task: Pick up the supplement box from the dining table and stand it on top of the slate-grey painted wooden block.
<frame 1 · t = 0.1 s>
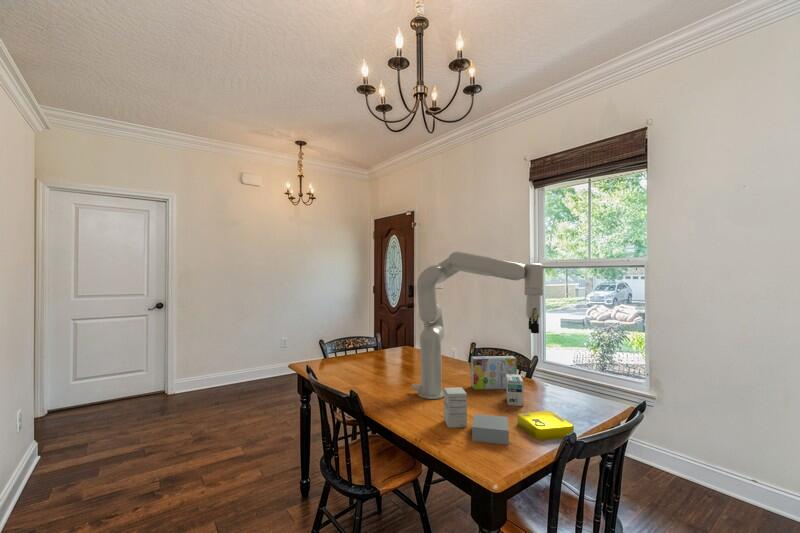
hand: (533, 331, 167), 31 cm above the table, tool pointing down, fingers open, 9 cm apart
light bulb box: (514, 402, 169), on the table
grey block: (490, 436, 135), on the table
element tile: (544, 431, 140), on the table
snack box: (493, 388, 188), on the table
supplement box: (455, 424, 145), on the table
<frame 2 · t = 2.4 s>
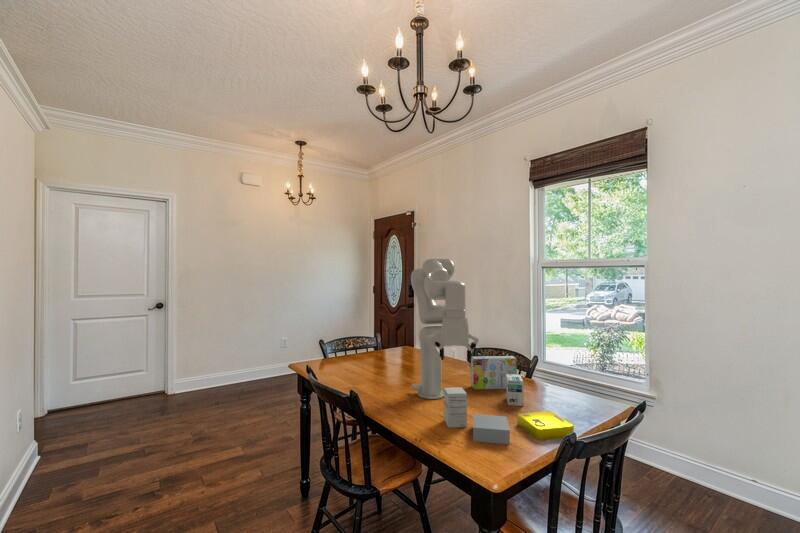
hand: (455, 360, 145), 24 cm above the table, tool pointing down, fingers open, 9 cm apart
nothing on the table moved.
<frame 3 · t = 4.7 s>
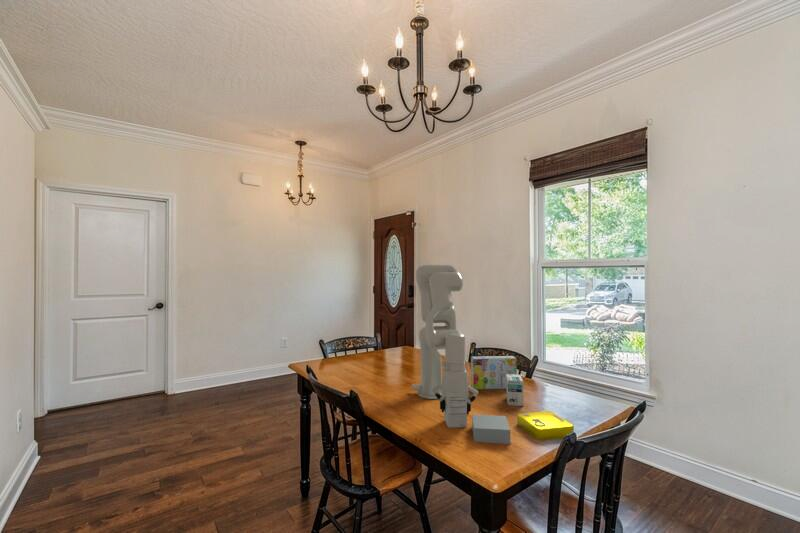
hand: (455, 412, 145), 4 cm above the table, tool pointing down, fingers closed on supplement box, 9 cm apart
supplement box: (455, 424, 145), on the table, touching gripper
everything else where it was.
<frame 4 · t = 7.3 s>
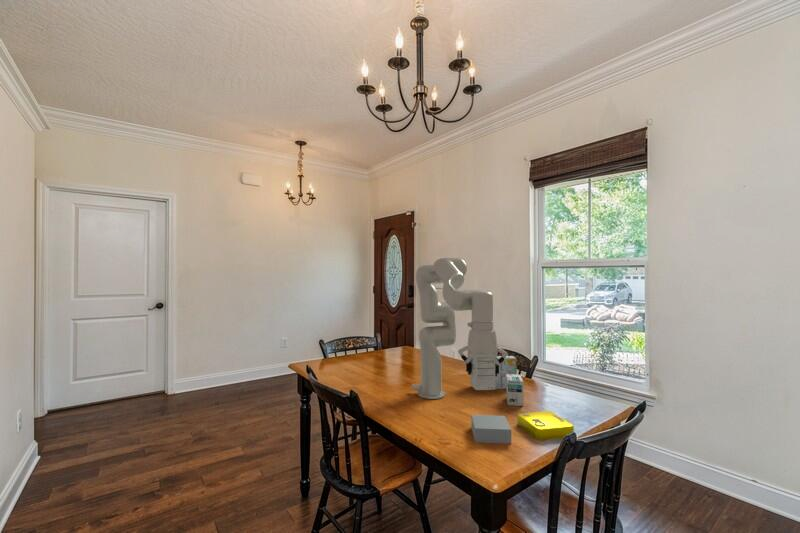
hand: (482, 374, 137), 21 cm above the table, tool pointing down, fingers closed on supplement box, 8 cm apart
supplement box: (482, 387, 137), point 16 cm above the table, touching gripper
everything else where it was.
when the fingers open (10 cm above the table, at t = 10.0 s): supplement box drops 1 cm, point 4 cm above the table.
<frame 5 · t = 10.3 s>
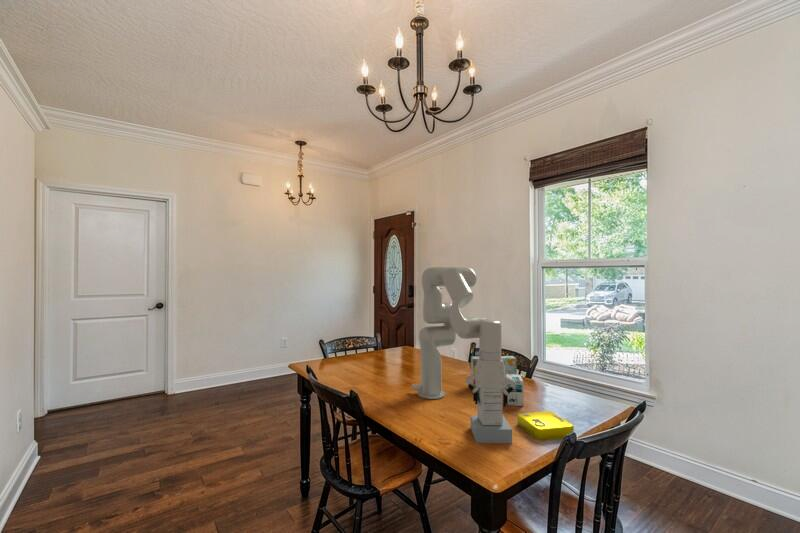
hand: (490, 404, 135), 11 cm above the table, tool pointing down, fingers open, 9 cm apart
supplement box: (489, 422, 136), point 4 cm above the table
everything else where it was.
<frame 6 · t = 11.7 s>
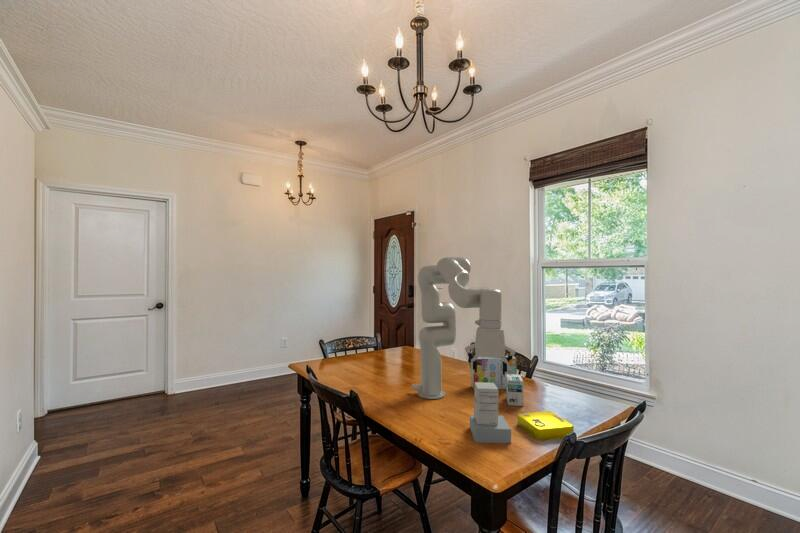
hand: (489, 372, 136), 22 cm above the table, tool pointing down, fingers open, 9 cm apart
grey block: (489, 436, 135), on the table, touching supplement box
supplement box: (485, 421, 136), point 4 cm above the table, touching grey block
everything else where it was.
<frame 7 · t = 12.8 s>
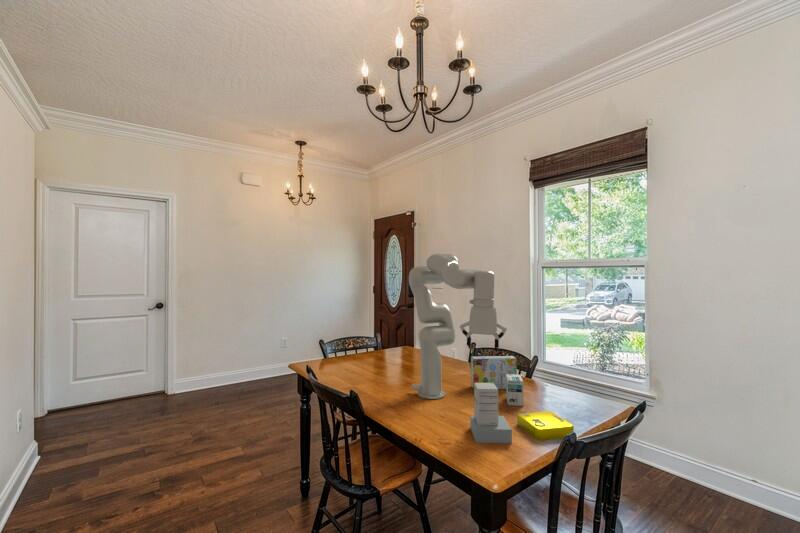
hand: (482, 348, 146), 28 cm above the table, tool pointing down, fingers open, 9 cm apart
nothing on the table moved.
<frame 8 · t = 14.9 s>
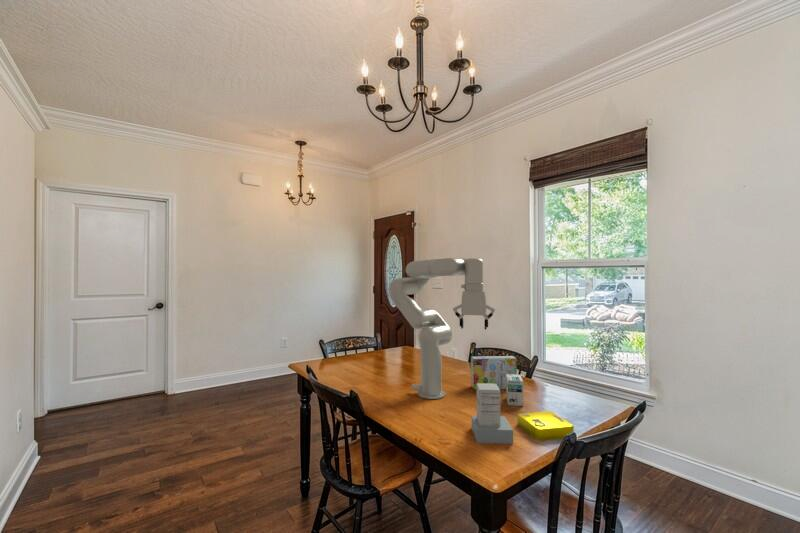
hand: (473, 328, 161), 33 cm above the table, tool pointing down, fingers open, 9 cm apart
at the end: supplement box 1.1 cm off-centre on the grey block, point 4.9 cm above the grey block's base; supplement box tilted 1°; the gripper is holding nothing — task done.
